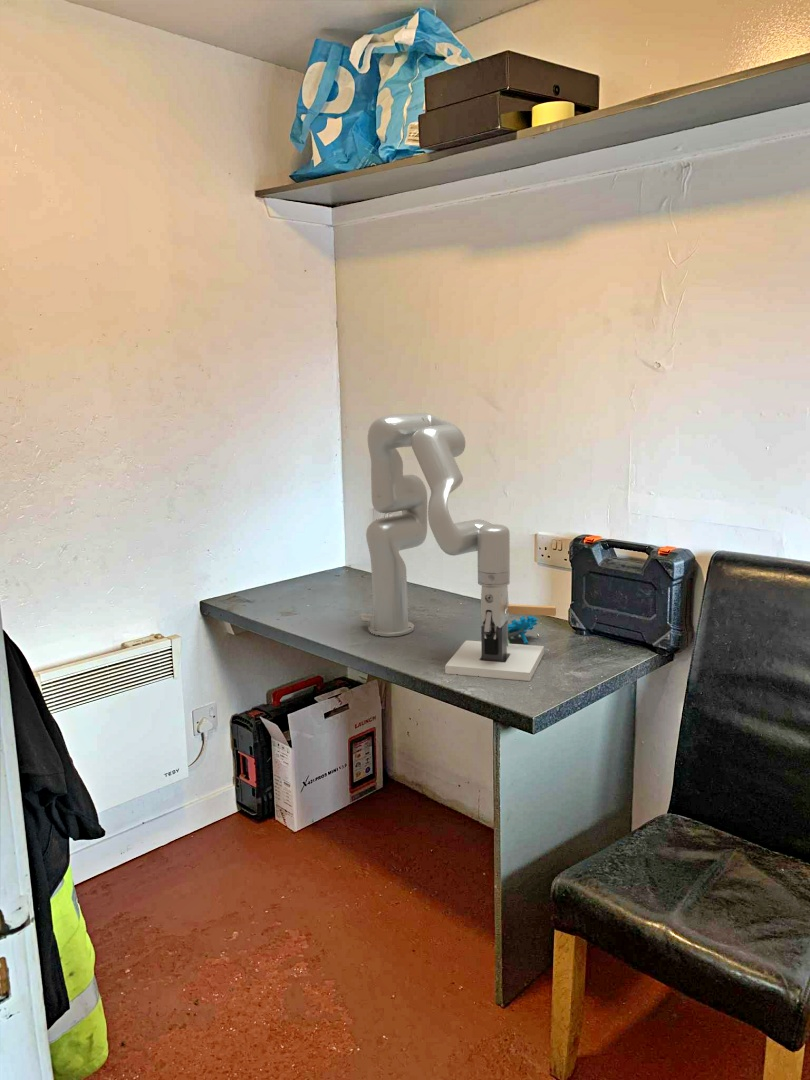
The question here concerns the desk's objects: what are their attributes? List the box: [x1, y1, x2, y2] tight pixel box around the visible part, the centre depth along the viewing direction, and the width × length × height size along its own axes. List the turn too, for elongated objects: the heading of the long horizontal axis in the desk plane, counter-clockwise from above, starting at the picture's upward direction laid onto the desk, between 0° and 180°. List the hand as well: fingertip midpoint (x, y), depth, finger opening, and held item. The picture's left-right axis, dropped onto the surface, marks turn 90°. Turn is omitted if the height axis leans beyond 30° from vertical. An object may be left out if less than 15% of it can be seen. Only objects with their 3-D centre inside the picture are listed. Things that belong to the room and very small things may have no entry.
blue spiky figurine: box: [508, 615, 538, 645], centre depth 213 cm, size 11×6×10 cm
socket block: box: [444, 618, 545, 682], centre depth 198 cm, size 20×19×9 cm
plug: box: [480, 621, 507, 662], centre depth 197 cm, size 5×5×10 cm
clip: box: [509, 603, 557, 617], centre depth 202 cm, size 2×14×3 cm, turn 74°
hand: (494, 649), depth 197 cm, fingers closed on plug, 5 cm apart
